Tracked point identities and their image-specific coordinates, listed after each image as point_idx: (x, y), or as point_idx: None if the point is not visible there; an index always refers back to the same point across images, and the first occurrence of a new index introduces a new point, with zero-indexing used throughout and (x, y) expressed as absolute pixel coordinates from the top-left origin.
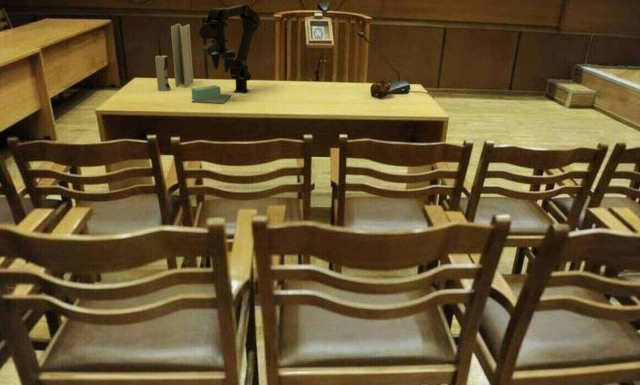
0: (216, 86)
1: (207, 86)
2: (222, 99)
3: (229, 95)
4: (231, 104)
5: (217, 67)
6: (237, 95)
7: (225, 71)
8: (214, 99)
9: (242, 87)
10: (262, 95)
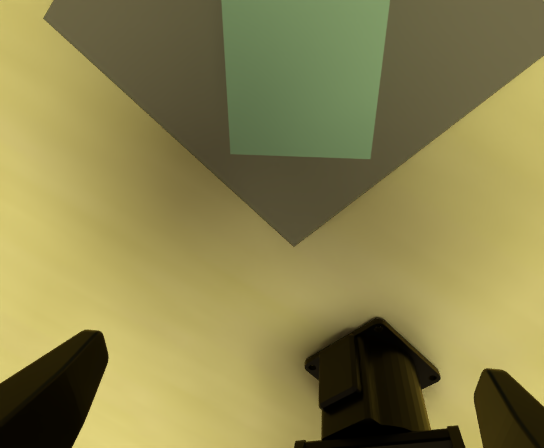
0: (289, 133)
1: (365, 18)
2: (172, 86)
3: (276, 221)
4: (22, 80)
5: (482, 424)
6: (279, 282)
7: (66, 341)
8: (208, 9)
9: (319, 379)
10: (191, 386)
